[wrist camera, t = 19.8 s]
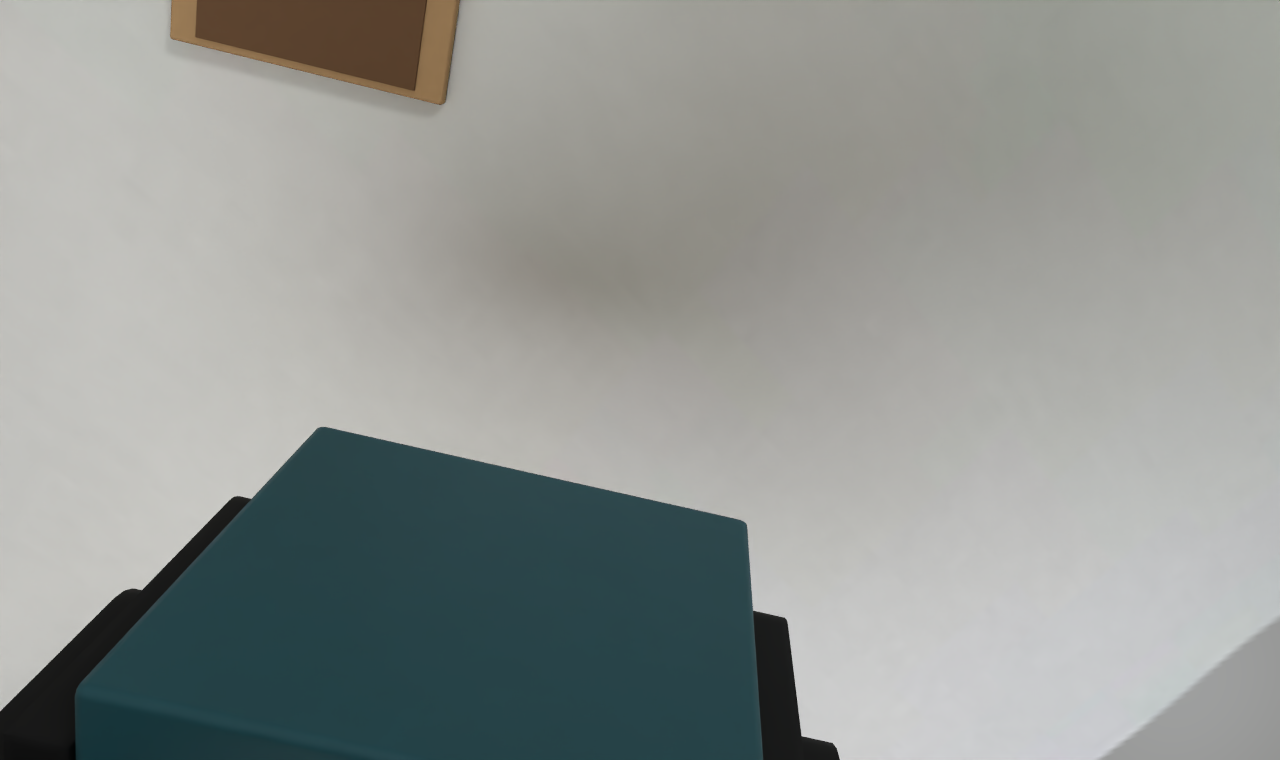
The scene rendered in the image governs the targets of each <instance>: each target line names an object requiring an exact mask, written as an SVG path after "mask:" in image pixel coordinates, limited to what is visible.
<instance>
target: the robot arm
mask: <svg viewBox="0 0 1280 760" xmlns="http://www.w3.org/2000/svg"><path fill="white" fill-rule="evenodd" d="M250 500H251V499H249V498H245V497H240V496H236V497H233V498H232V499H231V500H229V501H228V502H227V503H226V505H225V506H224V507H223V508H222V509H221V510H220V511H219V512H218V513H217V514H216V515H215V516H214V517H213V518H212V519H211V520H210V521H209V522H208V523H207V524H206V525H205V526H204V527H203V528H202V529H201V530H200V531H199V532H198V533H197V534H196V535H195V536H194V537H193V538H192V539H191V540H190V542H189V543H188V544H187V545H186V546H185V547H184V548H183V549H182V550H181V551H180V552H179V553H178V554H177V555H176V556H175V557H174V558H173V559H172V560H171V561H170V562H169V563H168V564H167V565H166V566H165V567H164V568H163V569H162V570H161V571H160V572H159V573H158V574H157V575H156V576H155V577H154V578H153V580H152V581H151V582H150V583H149V584H148V585H147V586H146V587H145V588H144V589H143V590H138V589H129V590H125V591H123V592H122V593H121V594H119V595H118V596H117V597H115V598H114V599H113V600H112V601H111V602H110V603H109V604H108V605H107V606H106V607H105V608H104V609H103V610H102V611H101V612H100V613H99V614H98V615H97V616H96V617H95V618H94V619H93V620H92V621H91V622H90V623H89V624H88V625H87V626H86V627H85V628H84V629H83V630H82V631H81V632H80V633H79V634H78V635H77V636H76V637H75V638H74V639H73V640H72V641H71V642H70V643H69V644H68V645H67V646H66V647H65V648H64V649H63V650H62V651H61V652H60V653H59V654H58V655H57V656H56V657H55V658H54V659H53V660H52V661H51V662H50V663H49V664H48V665H47V666H46V667H45V668H44V669H43V670H42V671H41V672H40V673H39V674H38V675H36V676H35V677H34V678H33V679H32V680H31V681H30V682H29V683H28V684H27V685H26V686H25V687H24V688H23V689H22V690H21V691H20V692H19V693H18V694H17V695H16V696H15V697H14V698H13V699H12V700H11V701H10V702H9V703H8V704H7V705H6V706H5V707H4V708H3V709H2V710H1V711H0V760H76V745H75V693H76V690H77V688H78V686H79V684H80V683H81V682H82V681H83V679H84V678H85V677H86V676H87V675H88V674H89V673H90V672H91V671H92V670H93V669H94V668H95V667H96V666H97V664H98V663H99V662H100V661H101V660H102V659H103V658H104V657H105V656H106V655H107V654H108V653H109V652H110V651H111V649H112V648H113V647H114V646H115V645H116V644H117V643H118V642H119V641H120V640H121V639H122V638H123V637H124V635H125V634H126V633H127V632H128V631H129V630H130V629H131V628H132V627H133V626H134V625H135V624H136V623H137V622H138V620H139V619H140V618H141V617H142V616H143V615H144V614H145V613H146V612H147V611H148V610H149V609H150V608H151V606H152V605H153V604H154V603H155V602H156V601H157V600H158V599H159V598H160V597H161V596H162V595H163V594H164V593H165V591H166V590H167V589H168V588H169V587H170V586H171V585H172V584H173V583H174V582H175V581H176V580H177V579H178V578H179V576H180V575H181V574H182V573H183V572H184V571H185V570H186V569H187V568H188V567H189V566H190V565H191V564H192V562H193V561H194V560H195V559H196V558H197V557H198V556H199V555H200V554H201V553H202V552H203V551H204V550H205V549H206V547H207V546H208V545H209V544H210V543H211V542H212V541H213V540H214V539H215V538H216V537H217V536H218V535H219V534H220V532H221V531H222V530H223V529H224V528H225V527H226V526H227V525H228V524H229V523H230V522H231V521H232V520H233V518H234V517H235V516H236V515H237V514H238V513H239V512H240V511H241V510H242V509H243V508H244V507H245V506H246V505H247V503H248V502H249V501H250ZM753 620H754V634H755V649H756V663H757V678H758V692H759V707H760V721H761V736H762V750H763V760H840V759H839V755H838V752H837V748H836V747H835V746H834V744H833V743H829V742H825V741H820V740H816V739H811V738H807V737H802V736H801V729H800V721H799V713H798V704H797V696H796V688H795V680H794V672H793V663H792V655H791V647H790V639H789V631H788V624H787V620H786V619H785V618H783V617H779V616H774V615H770V614H765V613H761V612H756V611H753Z"/></svg>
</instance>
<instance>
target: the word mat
mask: <svg viewBox="0 0 1280 760" xmlns="http://www.w3.org/2000/svg"><path fill="white" fill-rule="evenodd" d="M459 3H460V0H172V5H171V32H170V37H171V38H172V39H174V40H178V41H182V42H186V43H191V44H195V45H199V46H203V47H207V48H211V49H215V50H219V51H223V52H227V53H231V54H235V55H239V56H243V57H248V58H252V59H256V60H260V61H264V62H268V63H272V64H276V65H280V66H284V67H288V68H292V69H296V70H300V71H304V72H309V73H313V74H317V75H321V76H325V77H329V78H333V79H337V80H341V81H345V82H349V83H353V84H357V85H361V86H366V87H370V88H374V89H378V90H382V91H386V92H390V93H394V94H398V95H402V96H406V97H410V98H414V99H418V100H422V101H427V102H431V103H435V104H439V105H441V104H444V103H445V99H446V92H447V85H448V78H449V72H450V65H451V58H452V51H453V44H454V37H455V30H456V23H457V17H458V10H459Z"/></svg>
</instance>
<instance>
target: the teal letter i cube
mask: <svg viewBox="0 0 1280 760" xmlns="http://www.w3.org/2000/svg"><path fill="white" fill-rule="evenodd" d="M75 745H76V760H763V750H762V736H761V721H760V707H759V692H758V678H757V663H756V649H755V634H754V620H753V606H752V591H751V577H750V562H749V548H748V533H747V525H746V523H745V522H743V521H741V520H738V519H734V518H729V517H725V516H720V515H716V514H711V513H707V512H702V511H698V510H694V509H689V508H685V507H680V506H676V505H671V504H667V503H662V502H658V501H653V500H649V499H644V498H640V497H636V496H631V495H627V494H622V493H618V492H613V491H609V490H604V489H600V488H595V487H591V486H586V485H582V484H578V483H573V482H569V481H564V480H560V479H555V478H551V477H546V476H542V475H537V474H533V473H528V472H524V471H520V470H515V469H511V468H506V467H502V466H497V465H493V464H488V463H484V462H479V461H475V460H470V459H466V458H461V457H457V456H453V455H448V454H444V453H439V452H435V451H430V450H426V449H421V448H417V447H412V446H408V445H403V444H399V443H395V442H390V441H386V440H381V439H377V438H372V437H368V436H363V435H359V434H354V433H350V432H345V431H341V430H337V429H332V428H328V427H320V428H317V429H316V430H315V432H314V433H313V434H312V435H311V436H310V437H309V438H308V439H307V440H306V441H305V442H304V443H303V444H302V445H301V447H300V448H299V449H298V450H297V451H296V452H295V453H294V454H293V455H292V456H291V457H290V458H289V459H288V461H287V462H286V463H285V464H284V465H283V466H282V467H281V468H280V469H279V470H278V471H277V472H276V473H275V474H274V476H273V477H272V478H271V479H270V480H269V481H268V482H267V483H266V484H265V485H264V486H263V487H262V488H261V490H260V491H259V492H258V493H257V494H256V495H255V496H254V497H253V498H252V499H251V500H250V501H249V502H248V503H247V505H246V506H245V507H244V508H243V509H242V510H241V511H240V512H239V513H238V514H237V515H236V516H235V517H234V518H233V520H232V521H231V522H230V523H229V524H228V525H227V526H226V527H225V528H224V529H223V530H222V531H221V532H220V534H219V535H218V536H217V537H216V538H215V539H214V540H213V541H212V542H211V543H210V544H209V545H208V546H207V547H206V549H205V550H204V551H203V552H202V553H201V554H200V555H199V556H198V557H197V558H196V559H195V560H194V561H193V562H192V564H191V565H190V566H189V567H188V568H187V569H186V570H185V571H184V572H183V573H182V574H181V575H180V576H179V578H178V579H177V580H176V581H175V582H174V583H173V584H172V585H171V586H170V587H169V588H168V589H167V590H166V591H165V593H164V594H163V595H162V596H161V597H160V598H159V599H158V600H157V601H156V602H155V603H154V604H153V605H152V606H151V608H150V609H149V610H148V611H147V612H146V613H145V614H144V615H143V616H142V617H141V618H140V619H139V620H138V622H137V623H136V624H135V625H134V626H133V627H132V628H131V629H130V630H129V631H128V632H127V633H126V634H125V635H124V637H123V638H122V639H121V640H120V641H119V642H118V643H117V644H116V645H115V646H114V647H113V648H112V649H111V651H110V652H109V653H108V654H107V655H106V656H105V657H104V658H103V659H102V660H101V661H100V662H99V663H98V664H97V666H96V667H95V668H94V669H93V670H92V671H91V672H90V673H89V674H88V675H87V676H86V677H85V678H84V679H83V681H82V682H81V683H80V684H79V686H78V688H77V690H76V693H75Z"/></svg>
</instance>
